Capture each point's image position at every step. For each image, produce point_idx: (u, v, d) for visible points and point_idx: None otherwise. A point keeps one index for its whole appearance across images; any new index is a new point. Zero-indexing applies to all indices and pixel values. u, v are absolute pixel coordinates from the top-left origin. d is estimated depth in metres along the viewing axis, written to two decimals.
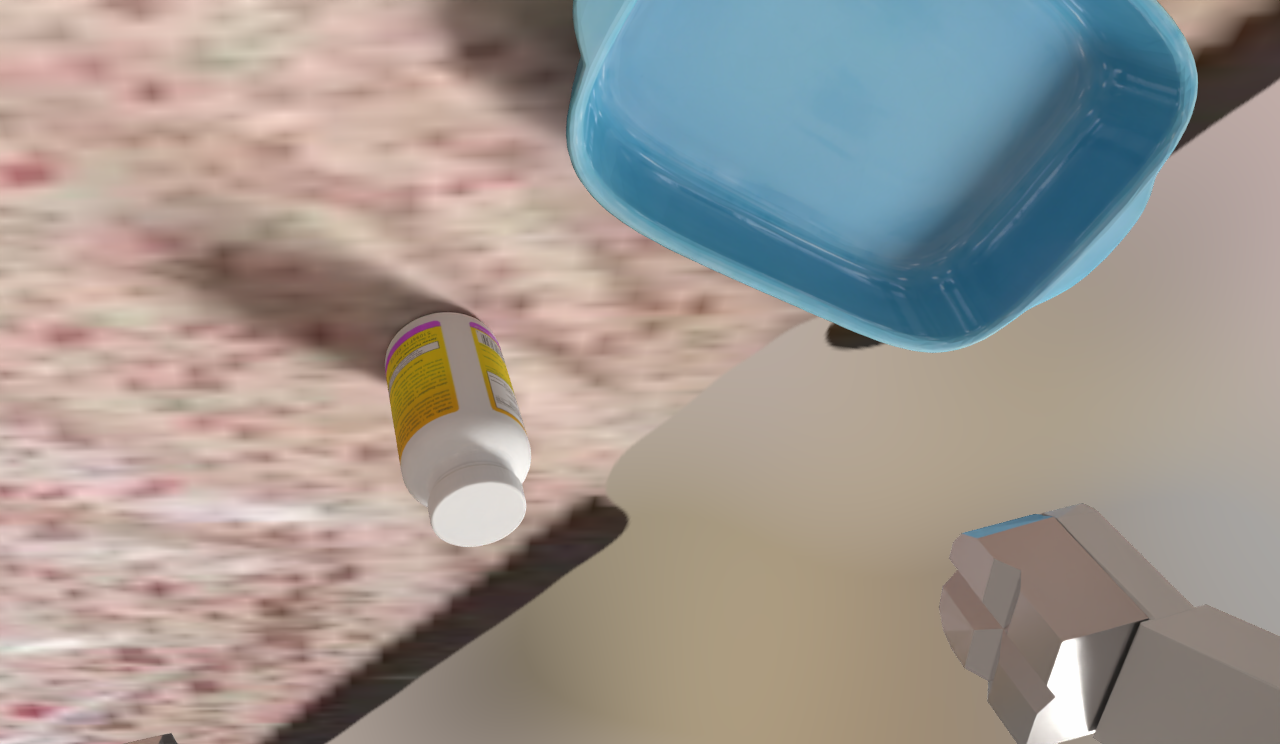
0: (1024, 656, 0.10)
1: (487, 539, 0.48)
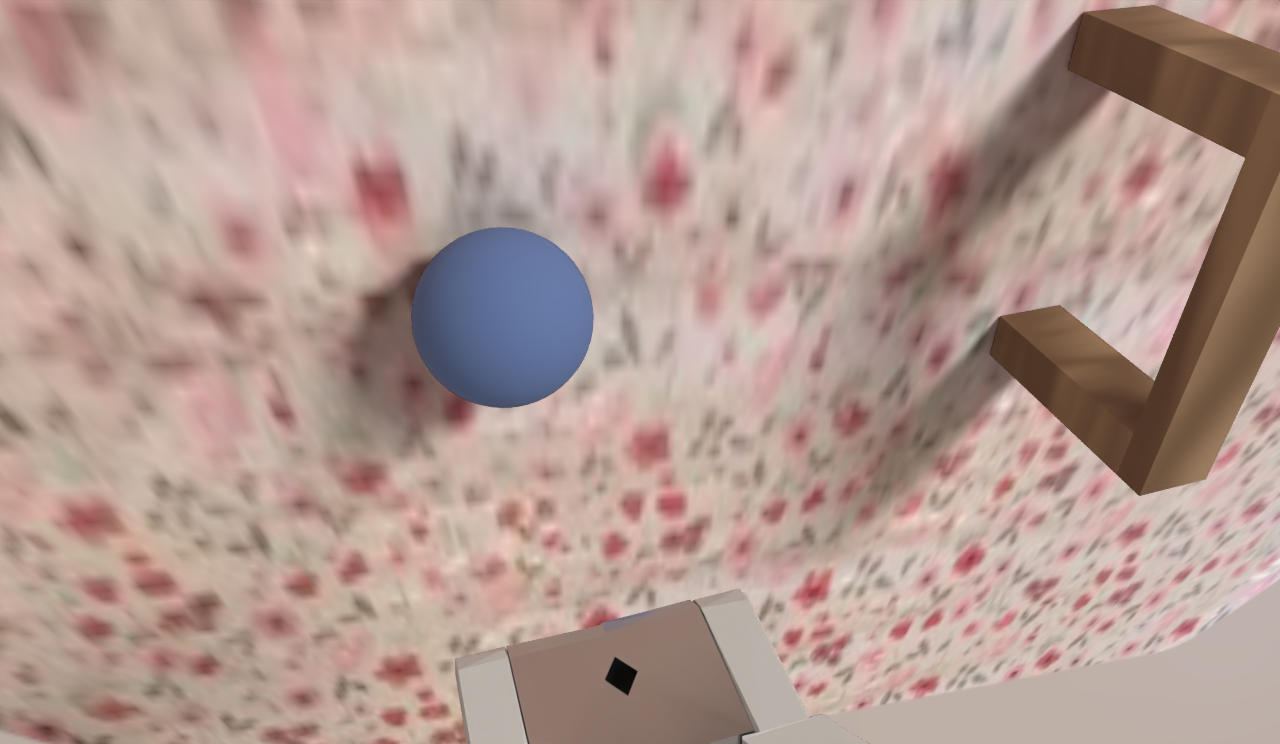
0: None
1: None
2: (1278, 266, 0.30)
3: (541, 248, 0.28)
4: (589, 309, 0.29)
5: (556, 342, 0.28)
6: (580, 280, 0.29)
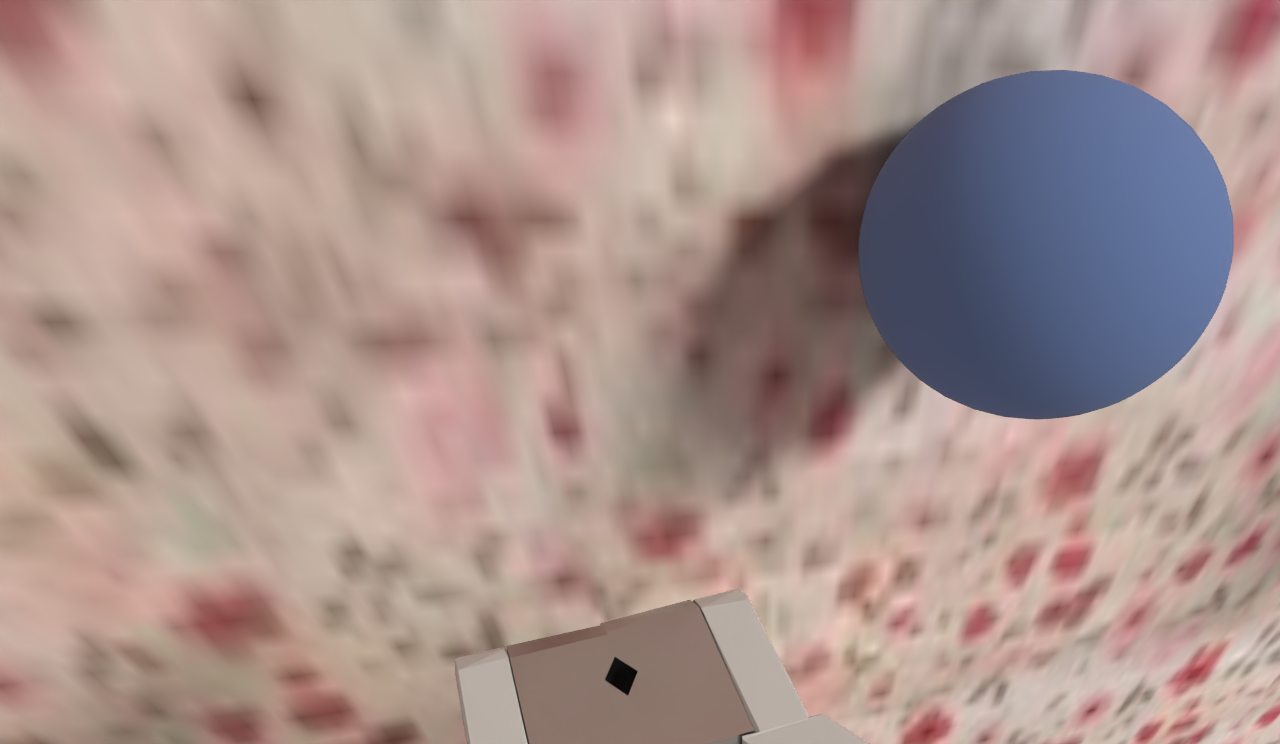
0: None
1: None
2: None
3: (1160, 101, 0.14)
4: None
5: (1215, 287, 0.14)
6: None
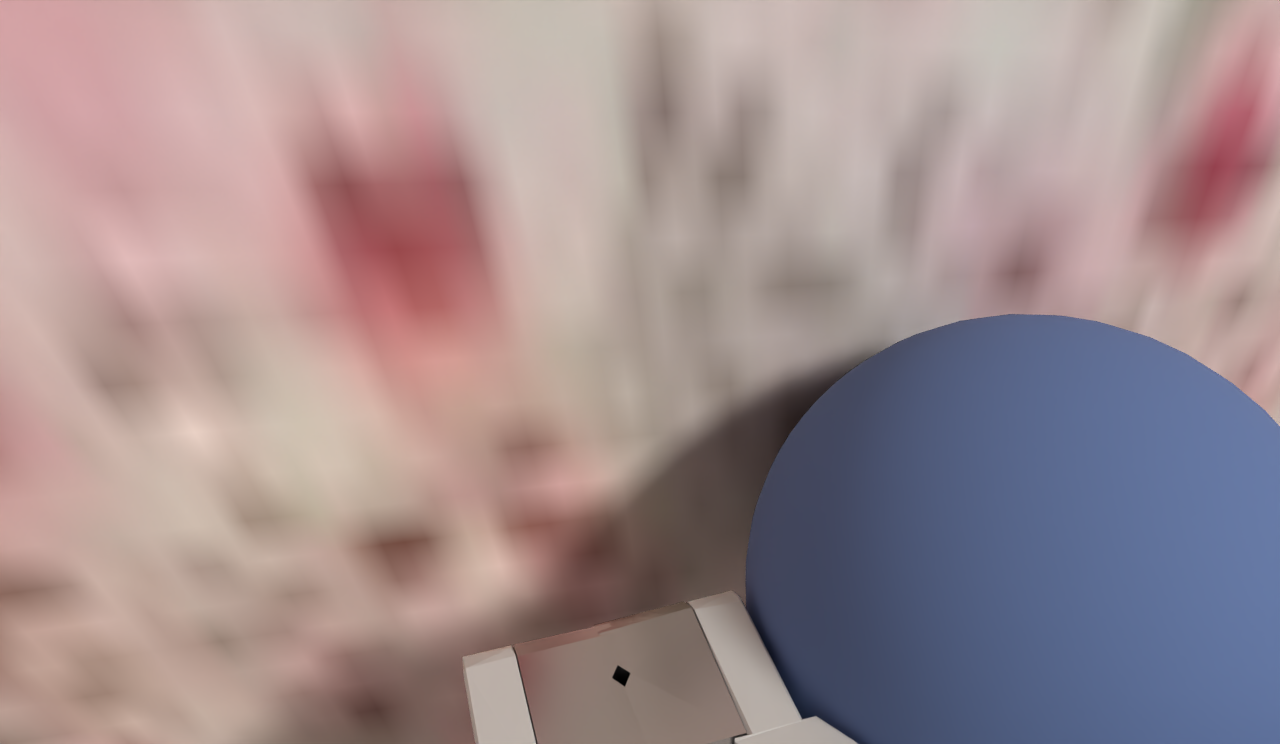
0: None
1: None
2: None
3: (1195, 372, 0.08)
4: None
5: None
6: None
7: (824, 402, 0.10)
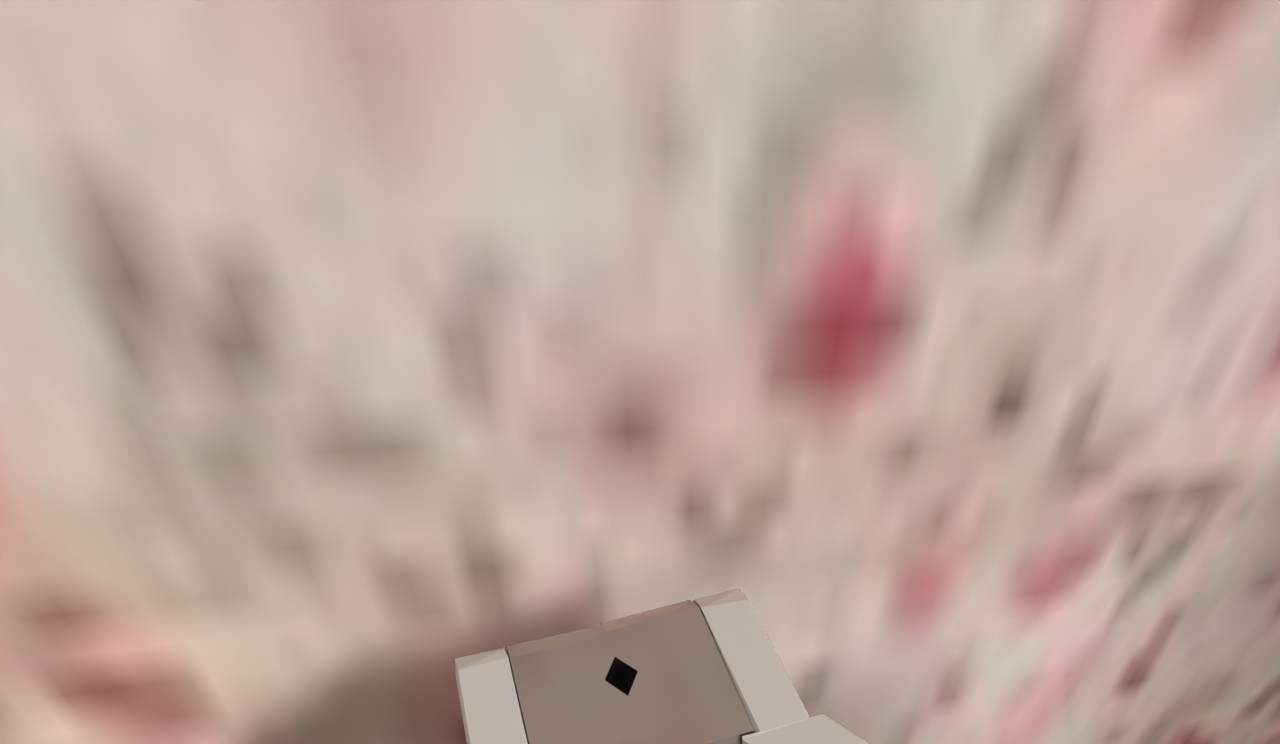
0: None
1: None
2: None
3: None
4: None
5: None
6: None
7: None
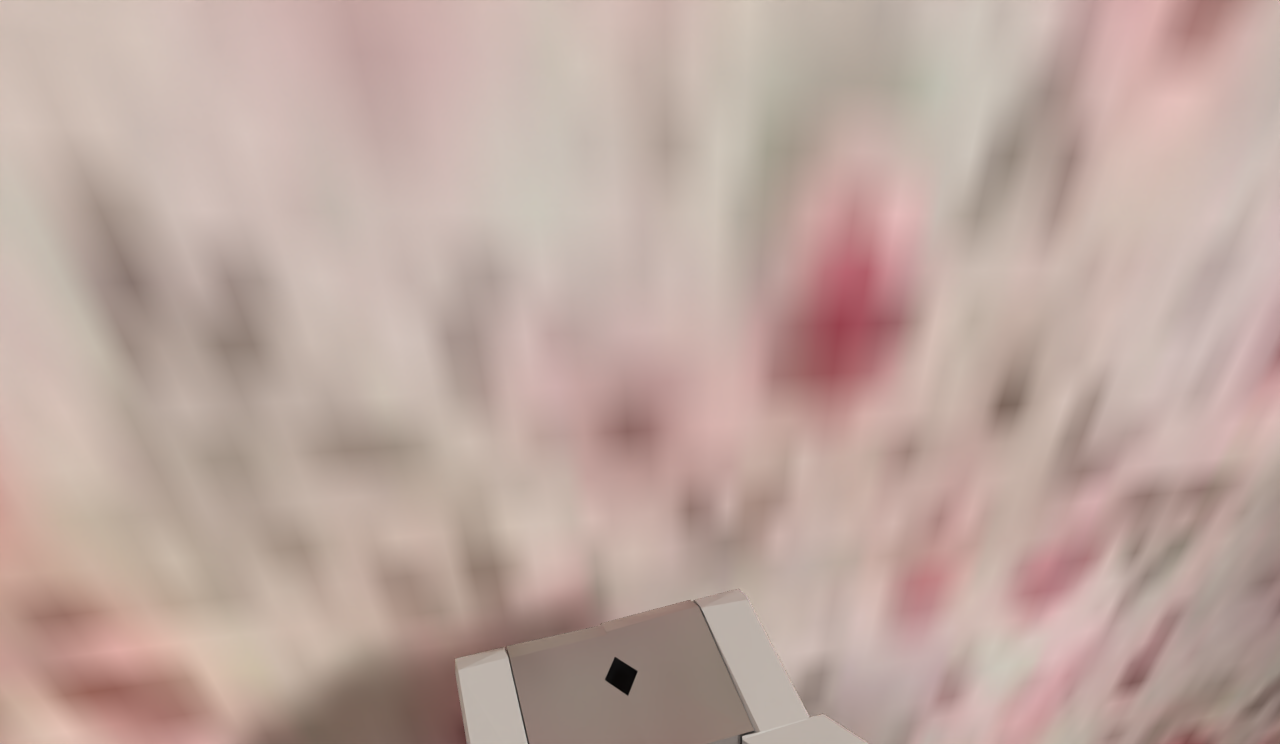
0: None
1: None
2: None
3: None
4: None
5: None
6: None
7: None
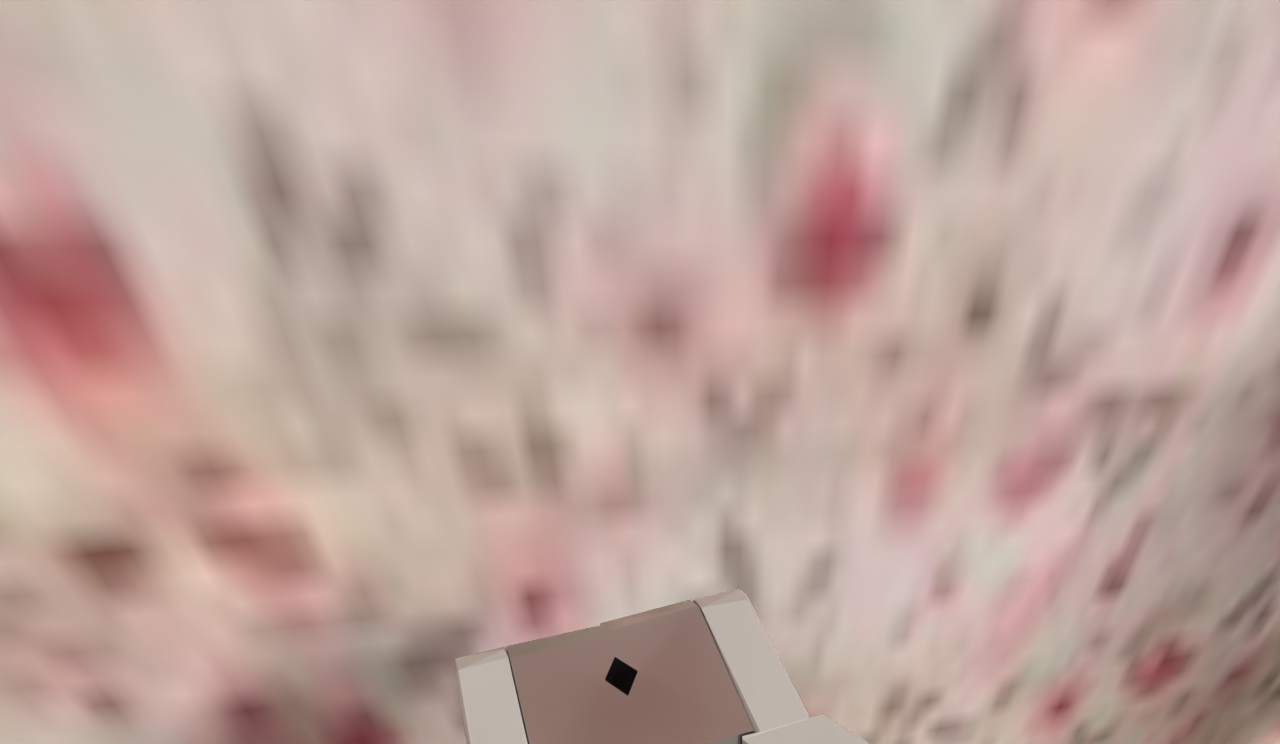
0: None
1: None
2: None
3: None
4: None
5: None
6: None
7: None
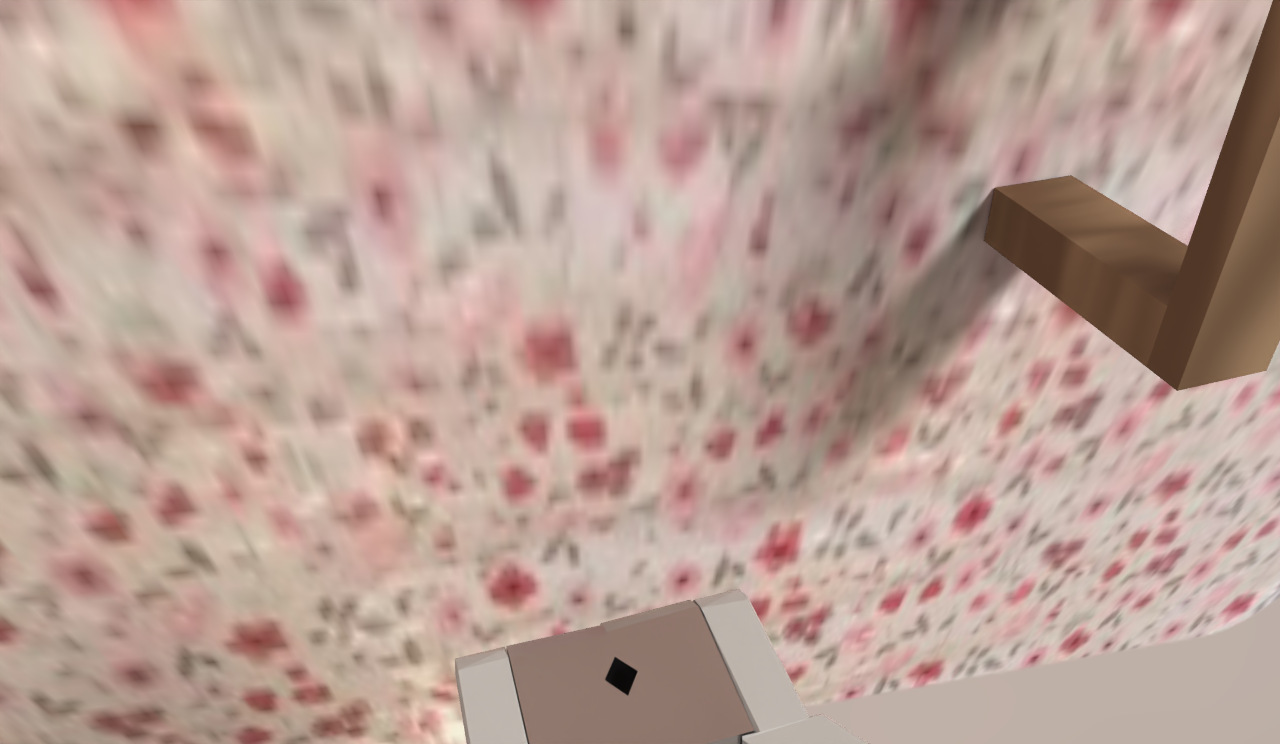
0: None
1: None
2: None
3: None
4: None
5: None
6: None
7: None
